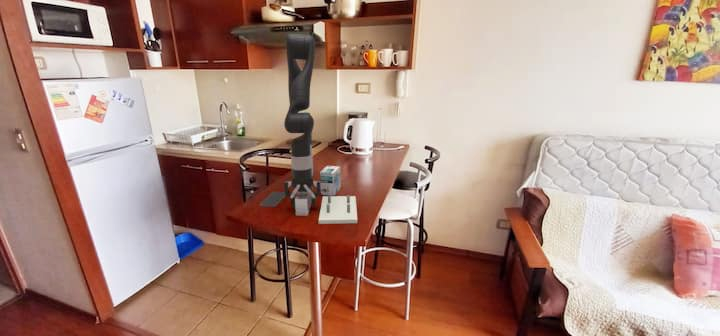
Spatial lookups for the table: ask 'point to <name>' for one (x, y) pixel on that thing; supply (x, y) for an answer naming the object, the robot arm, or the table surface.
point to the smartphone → (273, 199)
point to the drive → (302, 203)
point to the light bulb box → (330, 180)
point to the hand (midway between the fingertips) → (303, 205)
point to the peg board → (338, 210)
